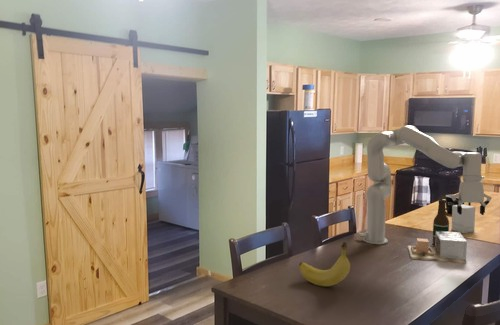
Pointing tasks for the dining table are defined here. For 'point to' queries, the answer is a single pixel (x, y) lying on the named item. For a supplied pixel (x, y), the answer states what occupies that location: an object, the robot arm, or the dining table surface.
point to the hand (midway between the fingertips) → (470, 214)
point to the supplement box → (463, 219)
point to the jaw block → (422, 245)
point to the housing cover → (451, 245)
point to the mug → (450, 202)
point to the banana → (327, 271)
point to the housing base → (430, 255)
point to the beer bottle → (440, 220)
